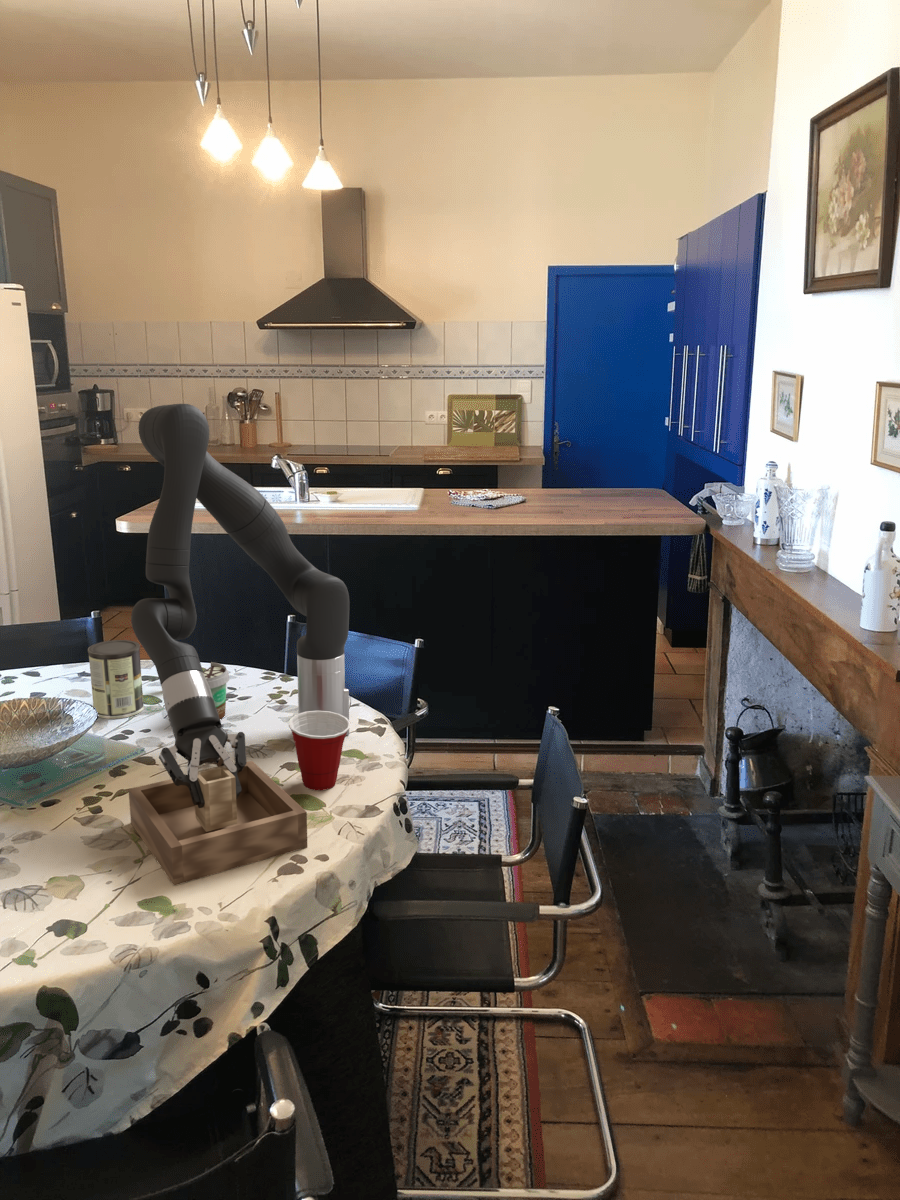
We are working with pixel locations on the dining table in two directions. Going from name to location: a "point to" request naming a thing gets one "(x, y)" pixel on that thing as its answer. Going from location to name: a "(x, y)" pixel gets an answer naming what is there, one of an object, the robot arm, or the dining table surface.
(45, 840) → the dining table surface
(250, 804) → the crate
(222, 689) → the food container
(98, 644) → the coffee can
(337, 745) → the plastic cup
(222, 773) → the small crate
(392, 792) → the dining table surface
